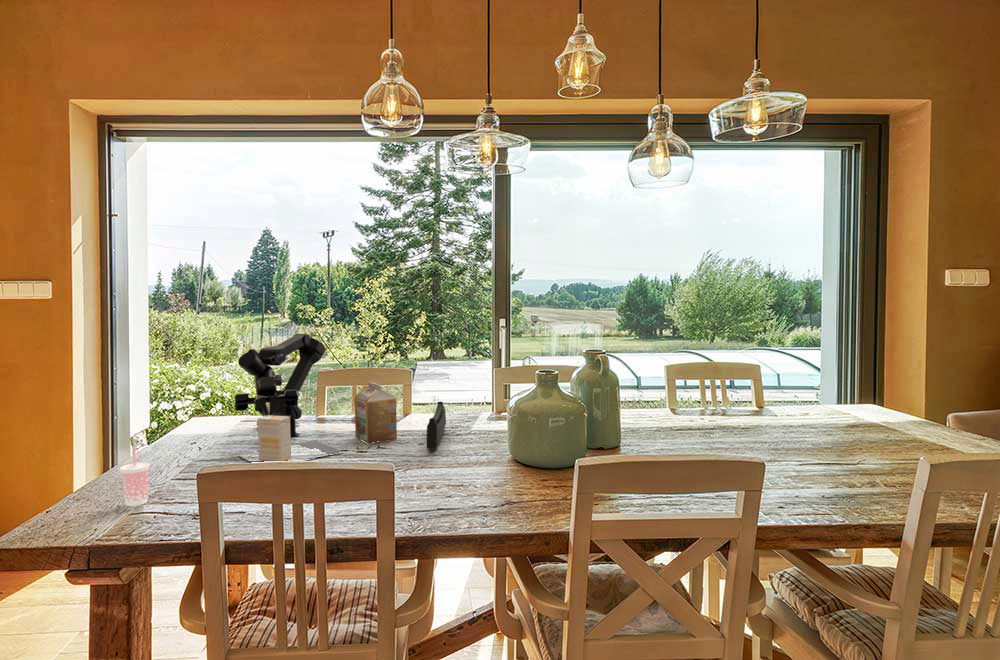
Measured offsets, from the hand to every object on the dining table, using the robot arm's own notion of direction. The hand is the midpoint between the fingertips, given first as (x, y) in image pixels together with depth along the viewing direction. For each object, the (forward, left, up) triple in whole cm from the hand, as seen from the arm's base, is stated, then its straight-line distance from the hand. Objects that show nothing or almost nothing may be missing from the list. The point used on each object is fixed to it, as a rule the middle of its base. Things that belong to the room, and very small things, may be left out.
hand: (269, 422), depth 188 cm
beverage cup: (+20, -41, -10) cm, 46 cm away
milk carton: (+5, +34, -10) cm, 36 cm away
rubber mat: (+5, +4, -10) cm, 12 cm away
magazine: (+21, +48, -10) cm, 54 cm away
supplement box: (+10, -3, -10) cm, 14 cm away
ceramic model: (-35, +17, -10) cm, 40 cm away
